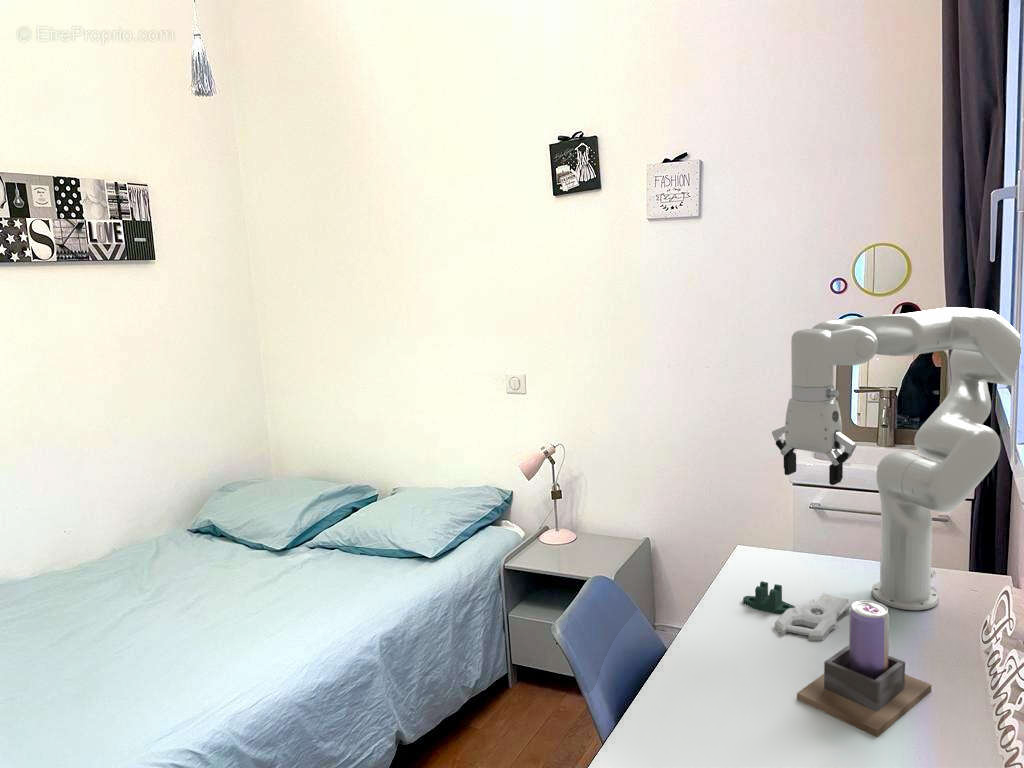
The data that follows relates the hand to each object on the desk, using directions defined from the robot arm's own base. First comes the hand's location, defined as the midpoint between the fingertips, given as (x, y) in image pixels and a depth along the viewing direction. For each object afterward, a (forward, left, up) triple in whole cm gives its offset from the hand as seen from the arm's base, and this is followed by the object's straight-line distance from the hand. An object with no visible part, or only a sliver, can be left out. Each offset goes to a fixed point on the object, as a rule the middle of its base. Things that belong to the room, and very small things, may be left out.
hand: (812, 478), depth 152 cm
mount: (+1, -9, -31) cm, 32 cm away
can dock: (+17, +20, -30) cm, 40 cm away
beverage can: (+17, +21, -29) cm, 40 cm away
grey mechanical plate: (0, 0, -31) cm, 31 cm away
